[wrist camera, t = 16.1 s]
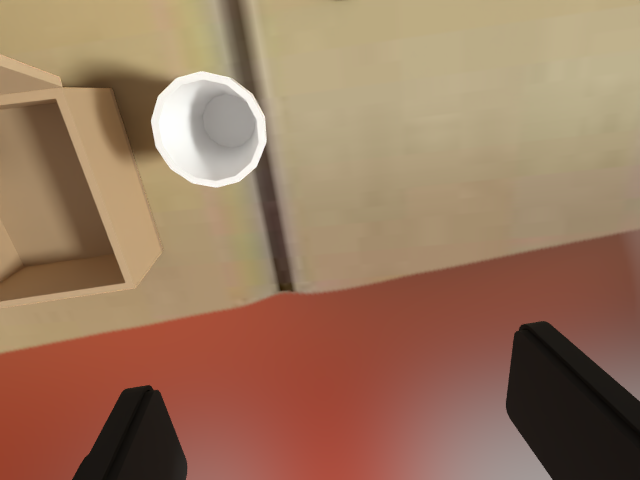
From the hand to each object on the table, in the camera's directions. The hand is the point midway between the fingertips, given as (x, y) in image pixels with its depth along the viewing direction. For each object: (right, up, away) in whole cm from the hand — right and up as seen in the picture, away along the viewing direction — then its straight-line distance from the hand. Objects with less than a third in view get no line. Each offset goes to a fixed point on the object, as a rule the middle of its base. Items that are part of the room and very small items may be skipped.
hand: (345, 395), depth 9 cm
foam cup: (-11, +18, +33) cm, 39 cm away
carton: (-32, +11, +34) cm, 47 cm away
